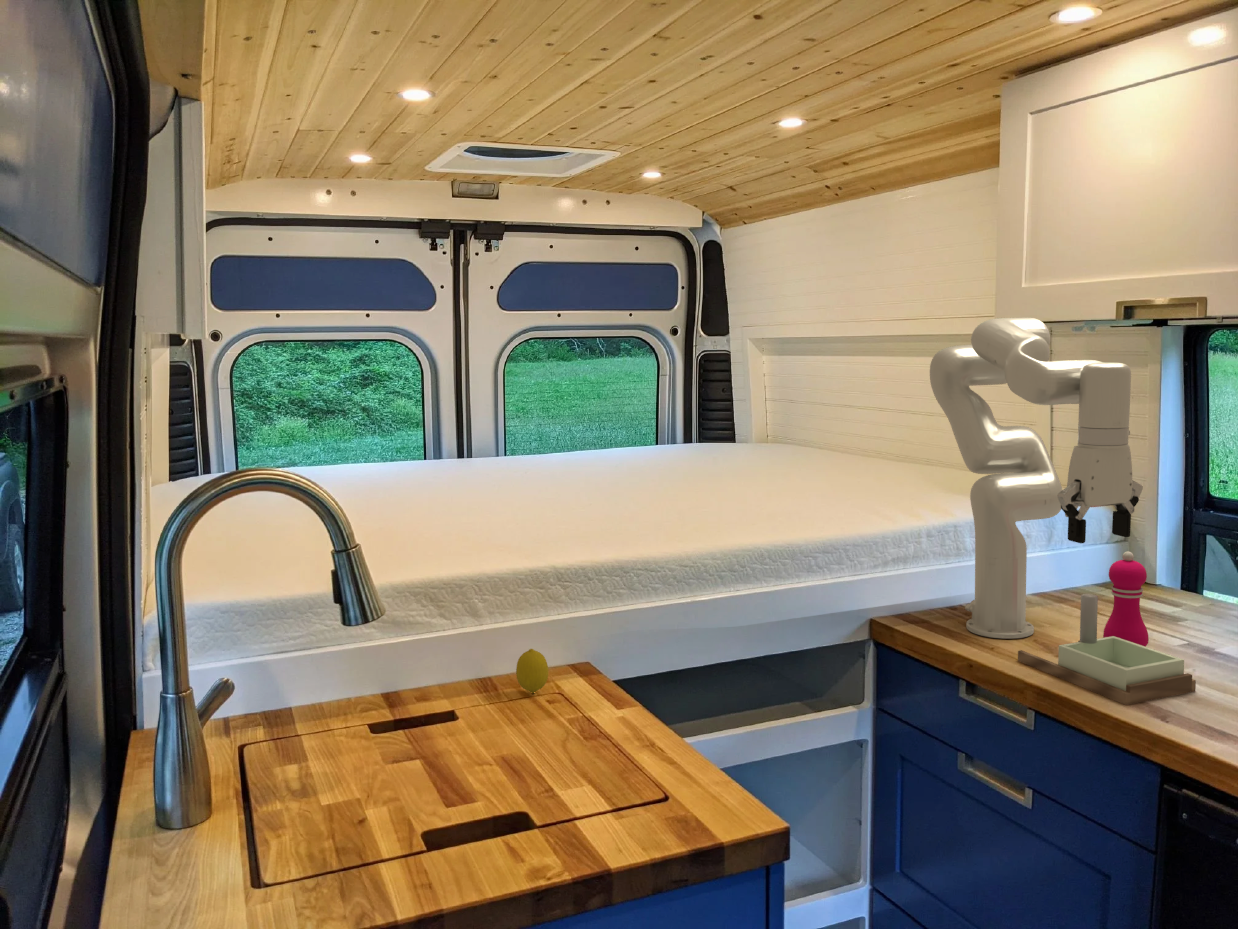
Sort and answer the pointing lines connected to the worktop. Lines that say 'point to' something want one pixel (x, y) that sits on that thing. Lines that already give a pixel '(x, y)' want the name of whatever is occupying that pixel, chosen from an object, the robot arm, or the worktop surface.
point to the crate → (1114, 654)
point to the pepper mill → (1127, 601)
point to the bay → (1130, 696)
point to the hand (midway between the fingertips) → (1098, 538)
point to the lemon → (532, 670)
